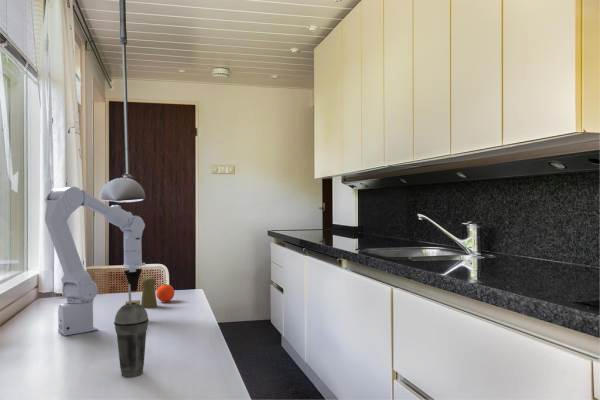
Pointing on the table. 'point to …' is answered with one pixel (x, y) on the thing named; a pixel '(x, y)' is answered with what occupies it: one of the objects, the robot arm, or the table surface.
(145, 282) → the cork
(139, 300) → the light wood block
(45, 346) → the table surface
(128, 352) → the beverage cup
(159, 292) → the clementine
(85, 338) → the table surface
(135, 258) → the robot arm
